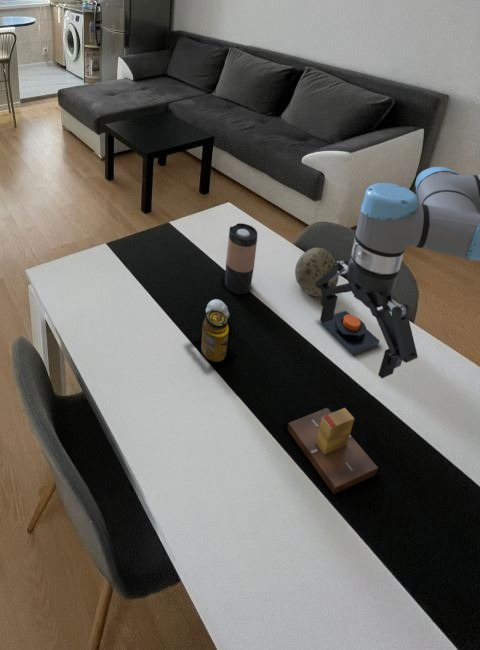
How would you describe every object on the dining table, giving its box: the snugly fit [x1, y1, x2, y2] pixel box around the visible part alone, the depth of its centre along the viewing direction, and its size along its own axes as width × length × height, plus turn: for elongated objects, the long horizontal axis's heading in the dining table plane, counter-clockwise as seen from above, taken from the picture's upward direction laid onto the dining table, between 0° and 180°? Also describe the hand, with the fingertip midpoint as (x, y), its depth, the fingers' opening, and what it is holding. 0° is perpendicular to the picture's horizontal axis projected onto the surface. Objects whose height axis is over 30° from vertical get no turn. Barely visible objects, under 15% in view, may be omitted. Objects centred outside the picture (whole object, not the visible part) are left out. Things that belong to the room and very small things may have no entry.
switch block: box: [320, 310, 380, 356], centre depth 109 cm, size 10×8×4 cm
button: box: [343, 314, 361, 331], centre depth 108 cm, size 4×4×2 cm
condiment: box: [200, 310, 230, 363], centre depth 105 cm, size 7×8×12 cm
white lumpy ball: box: [205, 298, 230, 320], centre depth 115 cm, size 6×7×7 cm
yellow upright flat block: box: [316, 407, 355, 455], centre depth 83 cm, size 6×2×8 cm, turn 106°
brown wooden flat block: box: [287, 407, 379, 495], centre depth 85 cm, size 12×10×3 cm
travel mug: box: [224, 222, 258, 295], centre depth 124 cm, size 8×8×20 cm
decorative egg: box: [294, 247, 339, 298], centre depth 121 cm, size 11×11×15 cm
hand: (353, 345), depth 87 cm, fingers open, 13 cm apart
